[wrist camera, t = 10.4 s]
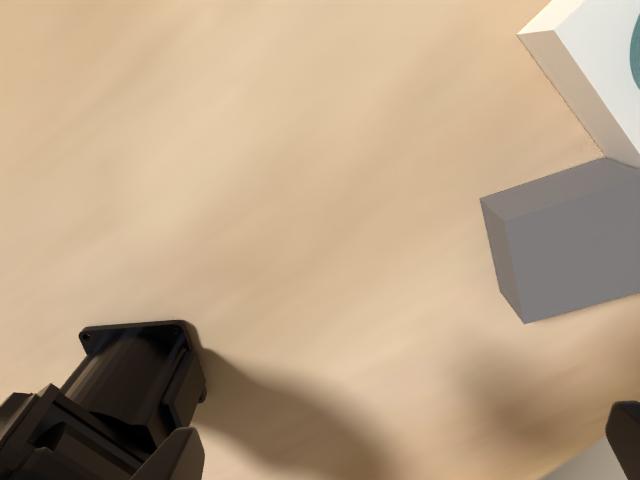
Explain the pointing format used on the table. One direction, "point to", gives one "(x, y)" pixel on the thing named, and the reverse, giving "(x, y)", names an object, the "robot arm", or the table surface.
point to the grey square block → (566, 239)
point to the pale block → (592, 68)
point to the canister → (635, 53)
